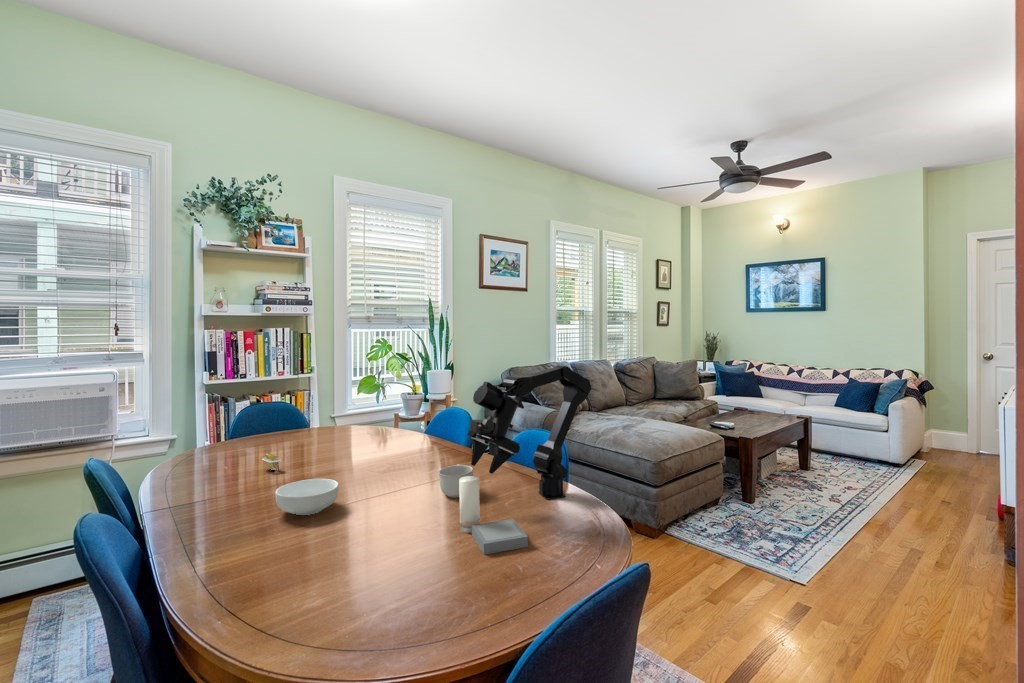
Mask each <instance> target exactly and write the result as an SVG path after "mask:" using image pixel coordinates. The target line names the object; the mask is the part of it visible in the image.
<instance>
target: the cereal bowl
mask: <svg viewBox="0 0 1024 683" xmlns="http://www.w3.org/2000/svg"><path fill="white" fill-rule="evenodd" d="M339 486H340V485H339V482H338V481H336V480H334V479H329V478H310V479H309V478H308V479H302V480H297V481H293V482H289V483H287V484H284V485H281V486H280V487H278V488H277V489H275V495H274V496H275V501H276V502H275V503H276V505H277V506H278V508H279V509H280V510H281V511H283V512H286V513H289V514H293V515H294V514H296V515H308V516H311V515H310V514H313V515H315V513H316V514H318V513H320V512H322V511H323V510H324V509H326V508H328V507H329V506H332V504H333V503H335V501H336V500H337V498H338V495H339ZM296 515H295V516H296Z"/></svg>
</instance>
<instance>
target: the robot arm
mask: <svg viewBox="0 0 1024 683" xmlns="http://www.w3.org/2000/svg"><path fill="white" fill-rule="evenodd" d="M555 382H558V383H559V384H560V385H561V386H563V388H562V397H563V402H562V403H561V405H560V406H561V407H560V409H559V411H558V413H557V415H556V418H555V420H554V423H553V426H552V428H551V429H550V433H549V436H548V438H547V440H546V442H544V443H543V444H540V443H539V444H537V447H536V450H535V452H534V453H533V454H532V456H533V458H532V459H533V460H532V463H533V466H534V468H535V470H536V472H537V474H538V475H540V480H539V484H538V485H539V487H538V488H539V491H538V494H540V495H541V496H542V497H543V498H544V499H545V500H552V499H560V498H566V494H565V493H564V479H566V478H567V475H568V469H567V468H566V467H565V466H564V465H563V463H562V462H563V458H564V457H563V445H564V443H565V440H566V437H567V435H568V432H569V430H570V427H571V424H572V422H573V420H574V418H575V415H576V413H577V410H578V409H579V408H578V407H579V406H580V405H581V404H582V403H584V402H585V401H586V399H587V398H588V396H589V395H590V393H591V391H592V385H591V381H590V380H589V379H588V378H587V377H583V376H582V375H581V374H579V373H577V372H576V371H574V370H572V368H570V367H569V366H566V365H555V366H553V367H550V368H547V369H544V370H540V371H536V372H535V373H530V374H526V375H525V374H523V375H522V374H521V375H515V374H514V375H508V376H506V377H504V379H503V381H502V382H500V383H499V384H498V385H496V386H495V385H493V384H492V383H491V382H490V381H483V383H482V385H480V386H479V387H478V388H477V389H476V390H474V393H473V399H472V400H473V403H474V404H476V405H478V406H480V407H482V408H484V409H485V410H488V411H490V412H493V411H494V412H493V413H492V415H489V416H487V418H484V419H470V424H469V430H468V432H467V436H468V439H469V441H470V442H471V444H472V452H471V462H470V463H471V466H473V467H475V466H476V465H477V464H478V462H479V461H480V460H481V458H482V457H483V455H484V453H485V452H486V451H487V449H488V448H489V445H488V444H490V443H491V444H493V451H494V454H493V458H492V459H491V463H490V467H489V470H488V472H489V474H491V475H493V474H494V473H495V472H496V471H498V469H499V468H501V466H502V465H504V464H505V463H506V462H507V461H508V460H510V458H512V457H514V456H515V454H516V455H519V452H520V450H521V445H520V443H519V442H517V441H514V440H513V439H511V438H509V437H507V434H508V432H509V429H513V427H514V425H513V424H512V422H513V420H514V417H515V414H516V412H517V409H525V406H524V404H523V402H522V401H523V400H522V399H520V398H523V397H525V396H527V395H529V394H530V393H532V392H533V391H534V389H536V388H539V387H542V386H545V385H548V384H552V383H555ZM505 396H506V397H505ZM513 397H516V399H515V398H513ZM517 397H518V398H517ZM495 445H496V446H495Z"/></svg>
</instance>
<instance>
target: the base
mask: <svg viewBox="0 0 1024 683" xmlns="http://www.w3.org/2000/svg"><path fill="white" fill-rule="evenodd" d="M471 536H472V537H473V539H474V541H475V543H476V545H477V546H478V547H479V549H480V551H481V553H482V554H483V555H489V554H495V553H501V552H504V551H505V552H507V551H512V550H516V549H523V548H528V547H529V536H528V534H526V532H525V531H524V530H523V529H522V528H521V527H520V526H519V524H518V523H517V522H516V521H515V519H513V518H510V519H503V520H498V521H496V520H495V521H490V522H483V523H480V524H476V525H472V533H471Z"/></svg>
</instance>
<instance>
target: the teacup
mask: <svg viewBox="0 0 1024 683" xmlns="http://www.w3.org/2000/svg"><path fill="white" fill-rule="evenodd" d="M473 471H474V468H473V467H472V465H471V466H470V465H464V464H461V463H457V464H456V465H455V464H454V465H449V466H445V467H442V468H441V469H439V470H438V473H437V474H438V476H439V477H438V478H439V479H438V480H439V487H440V490H441V492H442V494H444V495H446V497H448V498H453V499H455V498H457V499H458V498H459V479H460V478H462V477H466V476H474V472H473Z"/></svg>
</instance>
